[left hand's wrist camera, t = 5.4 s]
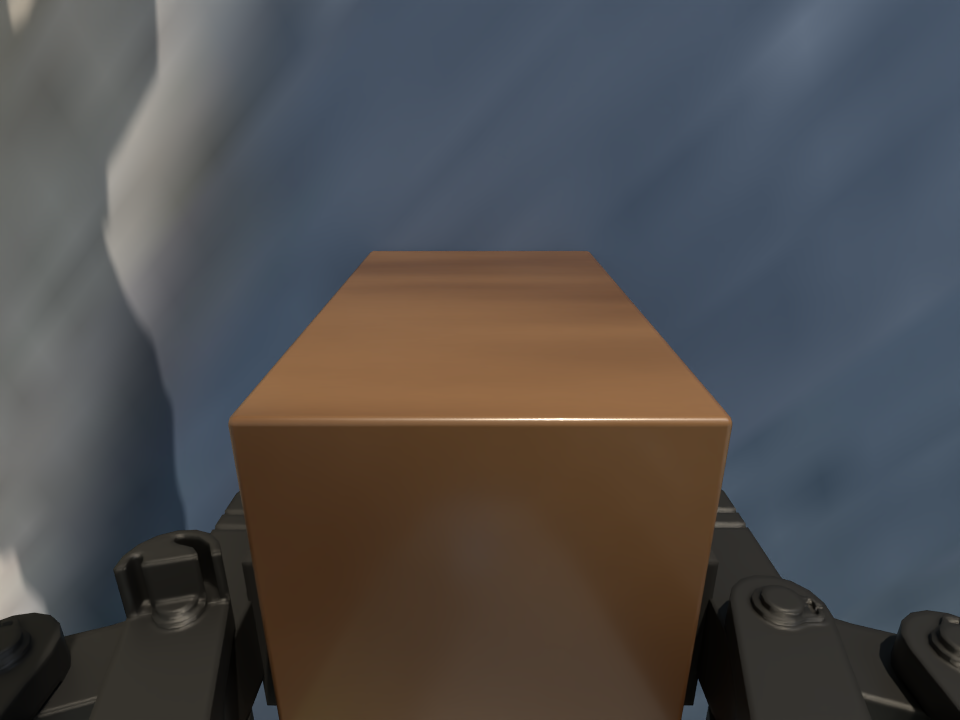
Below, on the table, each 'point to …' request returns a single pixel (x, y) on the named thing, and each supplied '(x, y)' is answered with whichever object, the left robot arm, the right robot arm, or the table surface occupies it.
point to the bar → (480, 496)
